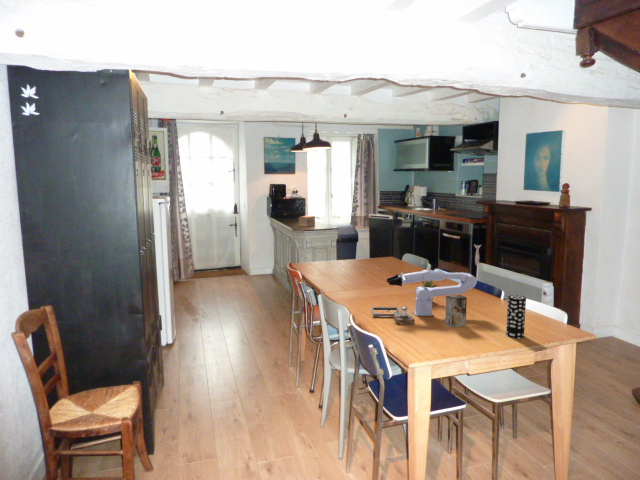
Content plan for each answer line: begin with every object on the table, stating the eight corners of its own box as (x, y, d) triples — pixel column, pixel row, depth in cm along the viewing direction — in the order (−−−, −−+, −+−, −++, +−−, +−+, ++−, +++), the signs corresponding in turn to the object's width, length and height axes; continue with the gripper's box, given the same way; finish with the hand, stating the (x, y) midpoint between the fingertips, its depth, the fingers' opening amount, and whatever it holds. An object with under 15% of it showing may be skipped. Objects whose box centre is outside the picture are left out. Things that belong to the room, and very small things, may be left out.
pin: (407, 320, 260) (407, 306, 259) (408, 322, 256) (408, 308, 255) (400, 320, 260) (400, 306, 259) (401, 322, 257) (401, 308, 255)
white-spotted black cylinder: (519, 332, 238) (521, 295, 235) (527, 338, 230) (529, 299, 227) (503, 333, 238) (505, 295, 235) (510, 338, 230) (512, 299, 227)
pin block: (411, 318, 263) (411, 314, 263) (414, 324, 253) (414, 319, 253) (394, 318, 263) (394, 314, 263) (396, 324, 254) (396, 319, 253)
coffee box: (459, 322, 255) (460, 294, 253) (466, 326, 249) (467, 297, 247) (444, 324, 253) (445, 295, 251) (451, 327, 247) (452, 298, 245)
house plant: (422, 305, 288) (422, 280, 286) (412, 300, 302) (412, 275, 299) (442, 303, 292) (443, 278, 290) (431, 298, 305) (432, 274, 303)
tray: (397, 310, 279) (397, 307, 279) (400, 317, 265) (400, 314, 265) (371, 310, 280) (371, 307, 280) (372, 317, 266) (372, 313, 266)
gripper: (407, 269, 275) (385, 273, 276) (412, 273, 261) (388, 277, 261) (409, 280, 276) (387, 284, 276) (414, 285, 262) (390, 289, 262)
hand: (387, 281), depth 269 cm, fingers open, 7 cm apart
